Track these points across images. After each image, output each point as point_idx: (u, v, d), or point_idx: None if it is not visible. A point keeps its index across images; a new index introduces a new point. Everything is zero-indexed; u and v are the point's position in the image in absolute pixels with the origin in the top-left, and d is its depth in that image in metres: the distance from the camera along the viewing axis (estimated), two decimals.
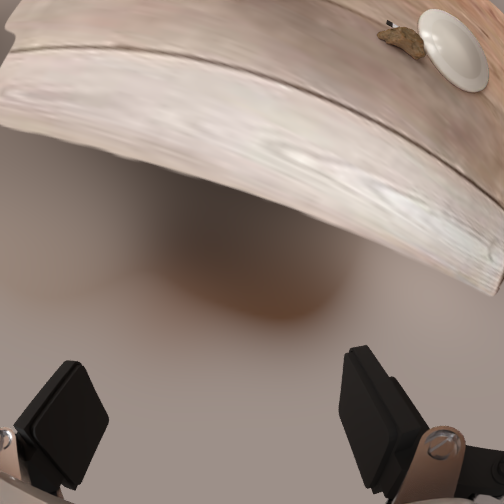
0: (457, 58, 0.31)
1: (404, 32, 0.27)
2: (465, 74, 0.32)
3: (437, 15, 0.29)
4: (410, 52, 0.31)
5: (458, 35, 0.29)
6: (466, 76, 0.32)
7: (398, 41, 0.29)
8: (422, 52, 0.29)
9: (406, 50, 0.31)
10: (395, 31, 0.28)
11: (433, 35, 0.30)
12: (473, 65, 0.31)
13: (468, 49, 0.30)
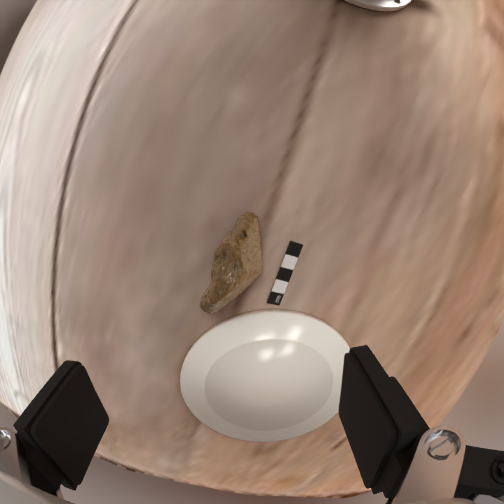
0: (241, 384, 0.26)
1: (224, 255, 0.18)
2: (211, 394, 0.26)
3: (338, 360, 0.25)
4: None
5: (302, 397, 0.26)
6: (209, 395, 0.26)
7: None
8: (203, 302, 0.20)
9: None
10: (234, 237, 0.19)
11: (276, 342, 0.25)
12: (243, 415, 0.27)
13: (278, 411, 0.27)
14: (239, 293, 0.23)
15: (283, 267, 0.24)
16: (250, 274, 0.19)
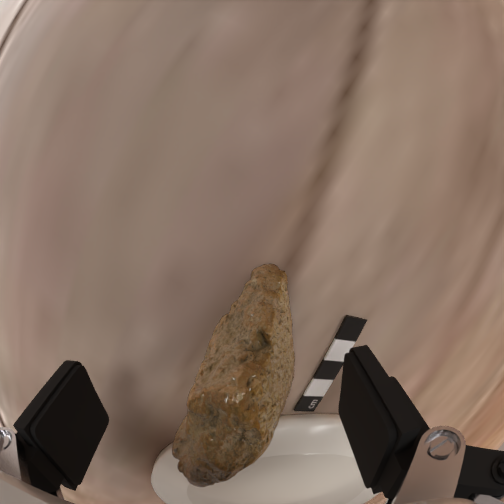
0: (240, 494, 0.14)
1: (213, 417, 0.06)
2: (197, 499, 0.14)
3: None
4: None
5: (325, 498, 0.14)
6: (194, 499, 0.14)
7: (205, 358, 0.08)
8: (178, 450, 0.08)
9: None
10: (238, 358, 0.07)
11: (295, 457, 0.12)
12: None
13: None
14: None
15: (329, 359, 0.12)
16: (276, 424, 0.07)
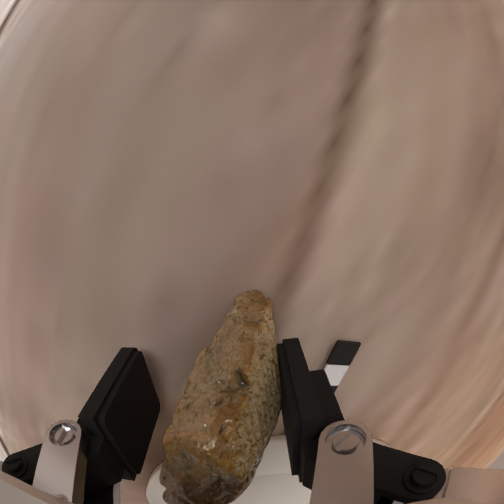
0: None
1: (187, 460, 0.05)
2: None
3: None
4: None
5: None
6: None
7: (185, 393, 0.07)
8: (165, 478, 0.07)
9: None
10: (213, 400, 0.06)
11: (292, 476, 0.12)
12: None
13: None
14: None
15: None
16: (259, 461, 0.06)
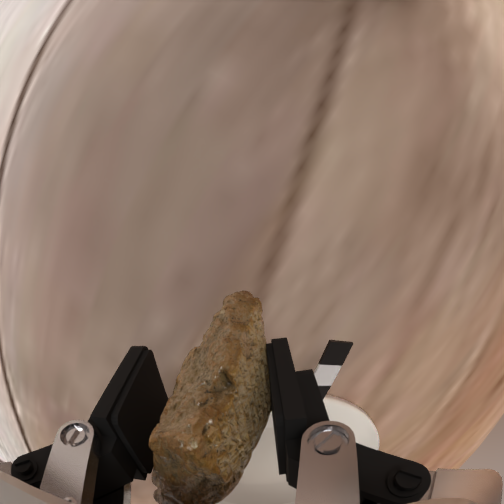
0: None
1: (172, 460, 0.05)
2: None
3: (358, 440, 0.17)
4: None
5: None
6: None
7: (173, 394, 0.07)
8: (157, 478, 0.07)
9: None
10: (198, 401, 0.06)
11: None
12: (238, 494, 0.18)
13: (281, 490, 0.18)
14: None
15: None
16: (248, 461, 0.06)
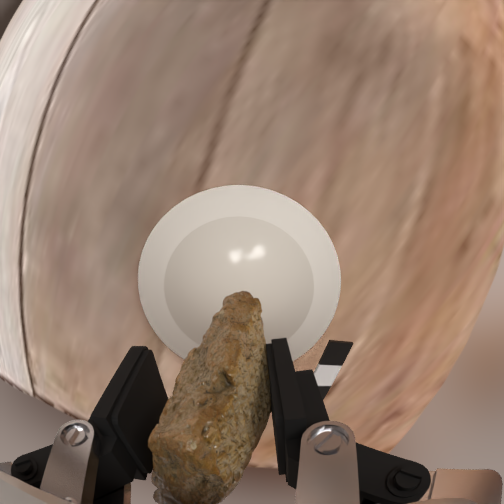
0: (205, 281, 0.24)
1: (172, 461, 0.05)
2: (171, 296, 0.24)
3: (316, 251, 0.24)
4: None
5: (278, 303, 0.25)
6: (169, 298, 0.24)
7: (173, 394, 0.07)
8: (156, 479, 0.07)
9: None
10: (197, 402, 0.06)
11: (242, 220, 0.23)
12: None
13: None
14: None
15: None
16: (247, 462, 0.06)
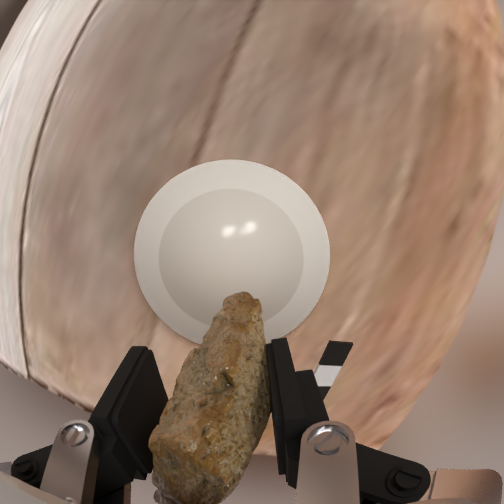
0: (198, 252, 0.25)
1: (172, 461, 0.05)
2: (165, 267, 0.25)
3: (305, 223, 0.25)
4: None
5: (269, 274, 0.26)
6: (163, 269, 0.25)
7: (173, 395, 0.07)
8: (157, 479, 0.07)
9: None
10: (197, 402, 0.06)
11: (233, 192, 0.24)
12: (202, 300, 0.26)
13: None
14: None
15: None
16: (248, 462, 0.06)
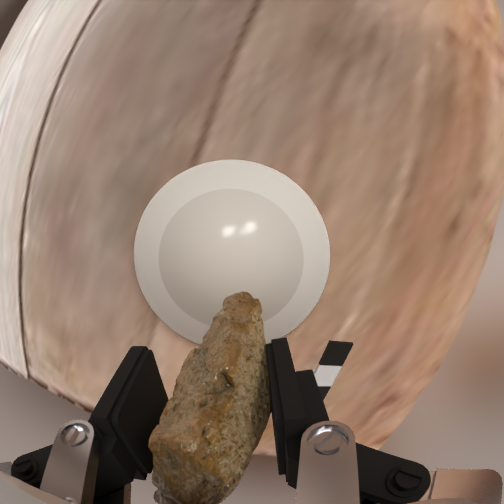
0: (198, 252, 0.25)
1: (172, 461, 0.05)
2: (165, 267, 0.25)
3: (305, 223, 0.25)
4: None
5: (269, 274, 0.26)
6: (163, 269, 0.25)
7: (173, 395, 0.07)
8: (157, 479, 0.07)
9: None
10: (197, 402, 0.06)
11: (233, 192, 0.24)
12: (202, 300, 0.26)
13: None
14: None
15: None
16: (248, 462, 0.06)
